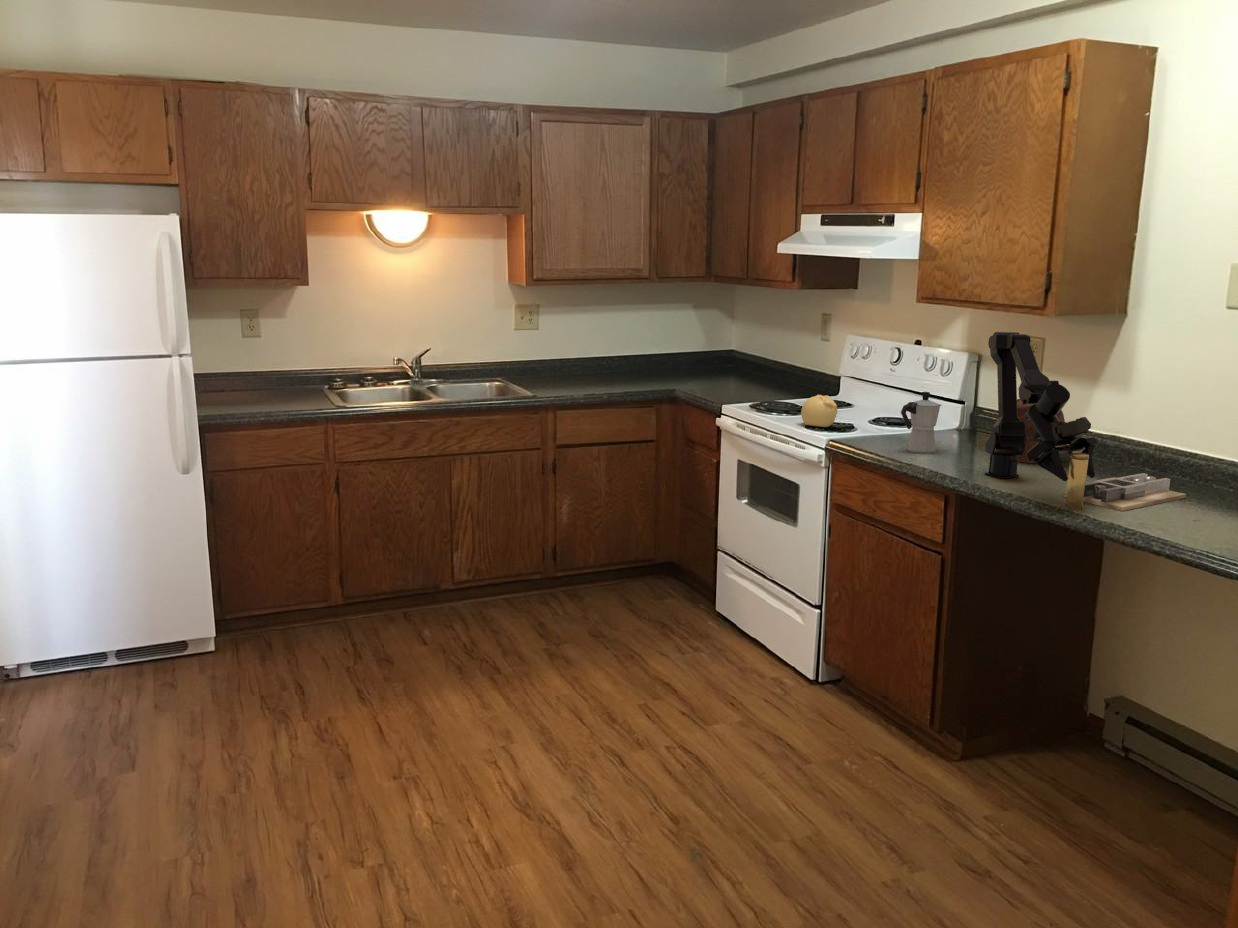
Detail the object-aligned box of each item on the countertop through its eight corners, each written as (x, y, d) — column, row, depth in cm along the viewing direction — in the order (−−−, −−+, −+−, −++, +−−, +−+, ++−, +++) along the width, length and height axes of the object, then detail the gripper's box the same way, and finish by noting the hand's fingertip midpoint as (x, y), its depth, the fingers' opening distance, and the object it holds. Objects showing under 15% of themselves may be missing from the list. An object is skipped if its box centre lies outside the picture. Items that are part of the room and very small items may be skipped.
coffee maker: (928, 446, 310) (933, 388, 306) (947, 452, 302) (953, 393, 298) (888, 449, 304) (893, 390, 300) (907, 455, 297) (912, 395, 293)
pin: (1060, 505, 242) (1066, 453, 239) (1070, 503, 244) (1077, 451, 241) (1075, 509, 239) (1082, 456, 236) (1086, 507, 241) (1092, 455, 238)
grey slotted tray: (1076, 495, 249) (1077, 483, 248) (1139, 483, 262) (1141, 472, 262) (1107, 503, 241) (1109, 491, 241) (1171, 490, 255) (1172, 479, 255)
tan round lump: (840, 429, 336) (842, 397, 334) (804, 429, 335) (806, 397, 333) (831, 423, 347) (833, 392, 345) (797, 422, 347) (799, 391, 344)
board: (1061, 496, 252) (1062, 492, 252) (1125, 484, 266) (1126, 480, 265) (1121, 511, 238) (1122, 507, 238) (1185, 497, 252) (1186, 494, 252)
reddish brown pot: (1018, 448, 309) (1024, 391, 305) (1074, 462, 292) (1082, 401, 287) (977, 454, 301) (983, 395, 296) (1032, 468, 283) (1039, 406, 279)
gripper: (1041, 408, 236) (1075, 463, 229) (1096, 403, 244) (1130, 457, 237) (1012, 435, 245) (1043, 489, 237) (1065, 430, 253) (1098, 482, 246)
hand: (1080, 478), depth 239 cm, fingers open, 9 cm apart
